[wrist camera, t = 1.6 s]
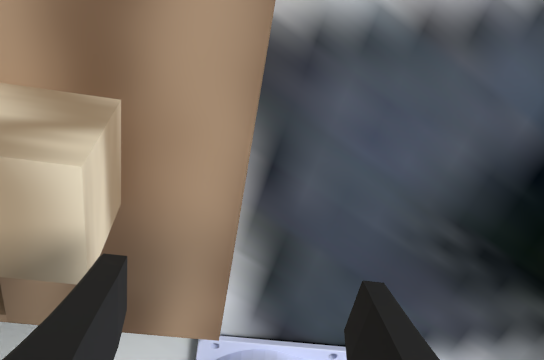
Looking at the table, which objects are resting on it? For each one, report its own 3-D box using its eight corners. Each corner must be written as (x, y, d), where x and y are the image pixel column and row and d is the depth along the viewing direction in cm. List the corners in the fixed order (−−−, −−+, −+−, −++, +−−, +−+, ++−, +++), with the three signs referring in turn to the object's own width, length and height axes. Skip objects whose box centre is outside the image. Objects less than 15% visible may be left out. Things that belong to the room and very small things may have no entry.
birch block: (120, 99, 17) (81, 167, 13) (121, 203, 19) (87, 285, 15) (-15, 80, 16) (-97, 144, 12) (2, 189, 19) (-62, 271, 15)
